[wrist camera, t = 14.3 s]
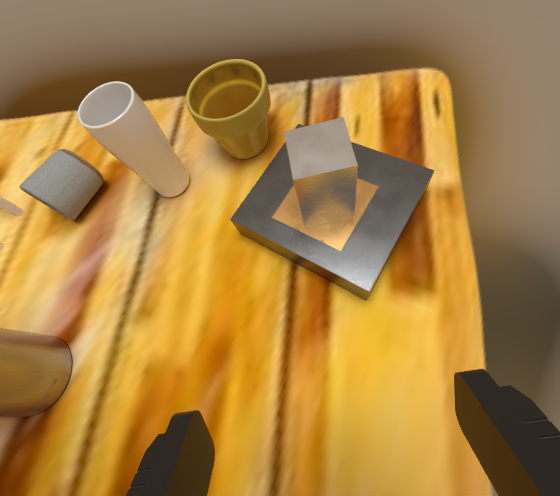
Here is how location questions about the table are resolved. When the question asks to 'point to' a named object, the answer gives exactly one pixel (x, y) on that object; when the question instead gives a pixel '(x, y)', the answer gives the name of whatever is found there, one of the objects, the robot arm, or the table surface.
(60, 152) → the ceramic mug
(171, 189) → the white tube
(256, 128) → the plant pot
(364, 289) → the steel plate
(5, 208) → the bracket
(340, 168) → the aluminium block
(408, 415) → the table surface
